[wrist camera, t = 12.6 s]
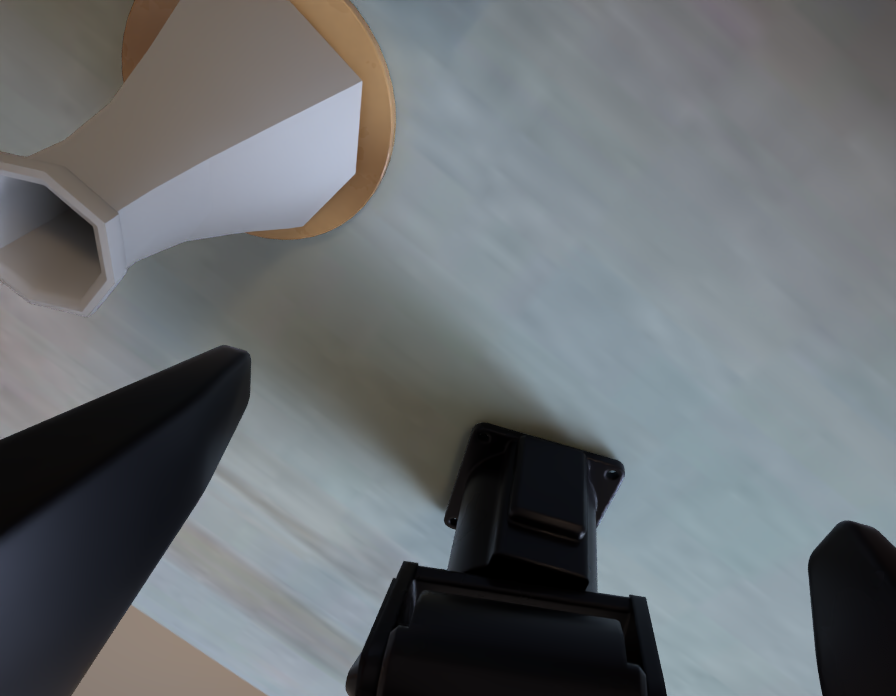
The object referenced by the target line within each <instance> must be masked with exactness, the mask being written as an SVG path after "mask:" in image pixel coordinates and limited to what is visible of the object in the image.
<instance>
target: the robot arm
mask: <svg viewBox="0 0 896 696" xmlns="http://www.w3.org/2000/svg"><path fill="white" fill-rule="evenodd" d="M250 383H251V357H250V354H249V353H248V352H247V351H245V350H241V349H238V348H234V347H231V346H226V345H222V346H219V347H216V348H214V349H211V350H209V351H207V352H204V353H202V354H200V355H197V356H195V357H193V358H190V359H188V360H186V361H183V362H181V363H179V364H176V365H174V366H172V367H169V368H167V369H165V370H162V371H160V372H158V373H155V374H153V375H151V376H148V377H146V378H144V379H141V380H139V381H137V382H134V383H132V384H130V385H127V386H125V387H123V388H120V389H118V390H116V391H113V392H111V393H109V394H106V395H104V396H102V397H99V398H97V399H95V400H92V401H90V402H88V403H85V404H83V405H81V406H78V407H76V408H74V409H71V410H69V411H67V412H64V413H62V414H60V415H57V416H55V417H53V418H50V419H48V420H46V421H43V422H41V423H39V424H36V425H34V426H32V427H29V428H27V429H25V430H22V431H20V432H18V433H15V434H13V435H11V436H8V437H6V438H4V439H1V440H0V696H71V695H72V694H73V692H74V691H75V689H76V688H77V686H78V685H79V683H80V681H81V680H82V678H83V677H84V675H85V674H86V672H87V671H88V669H89V668H90V666H91V665H92V663H93V661H94V660H95V659H96V657H97V655H98V654H99V652H100V651H101V649H102V648H103V646H104V645H105V643H106V642H107V640H108V639H109V637H110V636H111V634H112V633H113V631H114V629H115V628H116V626H117V625H118V623H119V622H120V620H121V619H122V617H123V616H124V614H125V613H126V611H127V610H128V608H129V606H130V605H131V604H132V602H133V600H134V599H135V597H136V596H137V594H138V593H139V591H140V590H141V588H142V587H143V585H144V584H145V582H146V581H147V579H148V578H149V576H150V574H151V573H152V571H153V570H154V568H155V567H156V565H157V564H158V562H159V561H160V559H161V558H162V556H163V555H164V553H165V552H166V550H167V549H168V547H169V545H170V544H171V542H172V541H173V539H174V538H175V536H176V535H177V533H178V532H179V530H180V529H181V527H182V526H183V524H184V523H185V521H186V519H187V518H188V516H189V515H190V513H191V512H192V510H193V509H194V507H195V506H196V504H197V503H198V501H199V499H200V498H201V496H202V494H203V493H204V491H205V489H206V487H207V485H208V483H209V482H210V480H211V478H212V476H213V474H214V472H215V470H216V468H217V466H218V464H219V462H220V460H221V458H222V456H223V454H224V452H225V450H226V448H227V446H228V444H229V442H230V440H231V438H232V436H233V434H234V432H235V430H236V428H237V426H238V423H239V421H240V419H241V417H242V415H243V413H244V411H245V409H246V407H247V404H248V401H249V397H250ZM481 433H483V434H486V435H488V436H482V435H480V434H481ZM611 470H612V471H616V472H614V473H611V472H608V471H611ZM624 477H625V470H624V465H623V464H622V463H621V462H620V461H618V460H615V459H611V458H608V457H604V456H601V455H597V454H594V453H590V452H587V451H583V450H580V449H576V448H573V447H569V446H566V445H562V444H559V443H555V442H552V441H548V440H545V439H541V438H538V437H534V436H531V435H527V434H524V433H520V432H517V431H513V430H510V429H506V428H503V427H499V426H496V425H492V424H489V423H478V424H476V425H475V426H474V428H473V430H472V433H471V436H470V439H469V442H468V445H467V448H466V451H465V454H464V458H463V461H462V464H461V467H460V470H459V473H458V476H457V479H456V482H455V485H454V488H453V492H452V495H451V498H450V501H449V504H448V507H447V510H446V513H445V518H444V522H445V524H446V525H447V526H448V527H450V528H452V529H455V530H456V531H455V536H454V540H453V545H452V550H451V555H450V559H449V564H448V569H447V570H444V569H437V568H430V567H424V566H418V563H414V562H407V561H403V564H402V566H401V568H400V571H399V573H398V575H397V578H393V580H392V582H391V584H390V587H389V589H388V592H387V594H386V596H385V599H384V601H383V603H382V606H381V608H380V610H379V613H378V615H377V617H376V620H375V622H374V624H373V627H372V629H371V631H370V634H369V636H368V639H367V641H366V643H365V646H364V648H363V650H362V652H361V654H360V655H359V657H358V658H357V660H356V661H355V663H354V664H353V666H352V667H351V669H350V670H349V673H348V676H347V680H346V691H347V693H348V695H349V696H667V694H666V688H665V682H664V678H663V673H662V669H661V664H660V660H659V655H658V650H657V646H656V641H655V637H654V632H653V628H652V623H651V619H650V614H649V610H648V605H647V601H646V597H641V596H635V595H629V597H623V596H616V595H610V594H603V593H597V544H596V528H597V526H598V525H599V523H600V521H601V519H602V517H603V516H604V514H605V512H606V510H607V508H608V506H609V505H610V503H611V501H612V499H613V497H614V496H615V494H616V492H617V490H618V488H619V487H620V485H621V483H622V481H623V479H624ZM454 518H456V519H454ZM808 575H809V586H810V596H811V607H812V618H813V629H814V640H815V651H816V659H817V667H818V673H819V679H820V685H821V690H822V695H823V696H896V548H895V547H894V546H893V545H892V544H891V543H890V542H889V541H888V540H887V539H886V538H885V537H884V536H883V535H882V534H881V533H880V532H879V531H878V530H876V529H875V528H873V527H870V526H867V525H863V524H860V523H856V522H853V521H842V522H840V523H838V524H837V525H836V526H835V527H834V528H833V530H832V531H831V532H830V533H829V534H828V535H827V536H826V537H825V538H824V540H823V541H822V542H821V543H820V544H819V545H818V546H817V547H816V548H815V550H814V551H813V552H812V554H811V556H810V559H809V563H808Z"/></svg>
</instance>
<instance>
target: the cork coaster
mask: <svg viewBox="0 0 896 696" xmlns="http://www.w3.org/2000/svg"><path fill="white" fill-rule="evenodd" d="M179 1H180V0H135V1H134V3H133V6H132V8H131V11H130V13H129V16H128V19H127V23H126V27H125V32H124V37H123V47H122V74H123V81H124V82H125V81H126V80H127V78H128V77H129V76H130V74H131V73H132V71H133V70H134V69H135V67H136V66H137V65H138V63H139V62H140V60H141V59H142V58H143V56H144V55H145V54H146V52H147V51H148V49H149V48H150V46H151V45H152V43H153V42H154V40H155V39H156V37H157V35H158V34H159V32H160V31H161V29H162V28H163V26H164V25H165V23H166V21H167V20H168V18H169V17H170V15H171V14H172V12H173V11H174V9H175V7H176V6H177V4H178V3H179ZM288 1H290V2H291V3H292V4H293V5H294V6H295V7H296V9H297V10H298V11H299V12H300V13H301V14H302V15H303V16H304V17H305V18H306V19H307V21H308V22H309V23H310V24H311V25H312V26H313V27H314V28H315V29H316V30H317V32H318V33H319V34H320V35H321V36H322V37H323V38H324V39H325V40H326V41H327V42H328V44H329V45H330V46H331V47H332V48H333V49H334V50H335V51H336V52H337V53H338V55H339V56H340V57H341V58H342V59H343V60H344V61H345V62H346V63H347V64H348V65H349V67H350V68H351V69H352V70H353V71H354V72H355V73H356V74H357V75H358V76H359V78H360V79H361V80H362V81H363V82H362V95H361V108H360V122H359V135H358V148H357V161H356V173H355V174H354V175H353V177H352V178H351V179H350V180H349V181H348V182H347V183H346V184H345V185H344V186H343V187H342V188H341V189H340V190H339V191H338V192H337V193H336V194H335V195H334V196H333V197H332V198H331V199H330V200H329V201H328V202H327V203H326V204H325V205H324V206H323V207H322V208H321V209H320V210H319V211H318V212H317V213H316V214H315V215H314V216H313V217H312V218H311V219H310V220H309V221H308V222H307V223H306V224H305V225H304V226H302V227H295V228H288V229H277V230H265V231H253V232H245V233H247V234H250V235H254V236H259V237H263V238H269V239H280V240H291V239H303V238H309V237H314V236H317V235H320V234H323V233H326V232H329V231H331V230H333V229H335V228H337V227H339V226H341V225H342V224H344V223H345V222H346V221H348V220H349V219H351V218H352V217H353V216H354V215H355V214H356V213H357V212H359V211H360V210H361V209H362V208H363V207H364V206H365V204H366V203H367V202H368V200H369V199H370V198H371V196H372V195H373V194H374V193H375V191H376V190H377V188H378V186H379V184H380V183H381V181H382V179H383V177H384V175H385V173H386V170H387V167H388V165H389V162H390V159H391V155H392V150H393V146H394V139H395V129H396V111H395V100H394V93H393V87H392V82H391V79H390V75H389V71H388V68H387V64H386V62H385V59H384V57H383V54H382V52H381V49H380V47H379V45H378V43H377V41H376V39H375V37H374V35H373V33H372V32H371V30H370V28H369V26H368V25H367V23H366V22H365V20H364V19H363V17H362V16H361V14H360V13H359V12H358V10H357V9H356V7H355V6H354V5H353V4H352V3H351V2H350V0H288Z"/></svg>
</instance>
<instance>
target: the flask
mask: <svg viewBox="0 0 896 696" xmlns="http://www.w3.org/2000/svg"><path fill="white" fill-rule="evenodd" d="M362 82H363V81H362V80H361V79H360V78H359V76H358V75H357V74H356V73H355V72H354V71H353V70H352V69H351V68H350V67H349V65H348V64H347V63H346V62H345V61H344V60H343V59H342V58H341V57H340V56H339V55H338V53H337V52H336V51H335V50H334V49H333V48H332V47H331V46H330V45H329V44H328V42H327V41H326V40H325V39H324V38H323V37H322V36H321V35H320V34H319V33H318V32H317V30H316V29H315V28H314V27H313V26H312V25H311V24H310V23H309V22H308V21H307V19H306V18H305V17H304V16H303V15H302V14H301V13H300V12H299V11H298V10H297V9H296V7H295V6H294V5H293V4H292V3H291V2H290V1H288V0H180V1H179V3H178V4H177V6H176V7H175V9H174V11H173V12H172V14H171V15H170V17H169V18H168V20H167V21H166V23H165V25H164V26H163V28H162V29H161V31H160V32H159V34H158V35H157V37H156V39H155V40H154V42H153V43H152V45H151V46H150V48H149V49H148V51H147V52H146V54H145V55H144V56H143V58H142V59H141V60H140V62H139V63H138V65H137V66H136V67H135V69H134V70H133V71H132V73H131V74H130V76H129V77H128V78H127V80H126V81H125V82H124V84H123V85H122V86H121V88H120V89H119V91H118V92H117V93H116V95H115V96H114V97H113V99H112V100H111V102H110V103H109V104H108V105H107V106H105V107H104V108H103V109H102V110H101V111H99V112H98V113H97V114H96V115H94V116H93V117H92V118H91V119H90V120H88V121H87V122H86V123H85V124H83V125H82V126H81V127H80V128H79V129H77V130H76V131H75V132H74V133H73V134H71V135H70V136H69V137H68V138H66V139H65V140H63V141H61V142H59V143H57V144H55V145H52V146H50V147H48V148H46V149H43V150H41V151H39V152H37V153H35V154H32V155H30V156H27V157H23V156H18V155H14V154H10V153H5V152H1V151H0V281H2V282H3V283H4V284H5V285H7V286H8V287H9V288H11V289H12V290H13V291H14V292H16V293H17V294H18V295H20V296H21V297H22V298H23V299H25V300H26V301H27V302H29V303H30V304H34V305H39V306H43V307H47V308H51V309H55V310H59V311H63V312H68V313H72V314H76V315H80V316H84V317H89V316H90V315H92V314H93V313H95V311H96V310H97V309H98V308H99V307H100V305H101V304H102V303H103V302H104V300H105V299H106V298H107V297H108V295H109V294H110V293H111V292H112V291H113V289H114V288H115V287H116V286H117V284H118V283H119V282H120V281H121V279H122V278H123V277H124V275H125V274H126V272H127V268H129V267H130V266H131V265H133V264H134V263H135V262H137V261H139V260H141V259H143V258H146V257H148V256H151V255H153V254H156V253H158V252H161V251H163V250H165V249H168V248H170V247H173V246H175V245H178V244H180V243H183V242H185V241H191V240H198V239H204V238H211V237H217V236H224V235H230V234H237V233H244V232H253V231H265V230H277V229H288V228H295V227H302V226H304V225H305V224H306V223H307V222H308V221H309V220H310V219H311V218H312V217H313V216H314V215H315V214H316V213H317V212H318V211H319V210H320V209H321V208H322V207H323V206H324V205H325V204H326V203H327V202H328V201H329V200H330V199H331V198H332V197H333V196H334V195H335V194H336V193H337V192H338V191H339V190H340V189H341V188H342V187H343V186H344V185H345V184H346V183H347V182H348V181H349V180H350V179H351V178H352V177H353V175H354V174H355V173H356V161H357V148H358V135H359V122H360V108H361V95H362Z"/></svg>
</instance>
